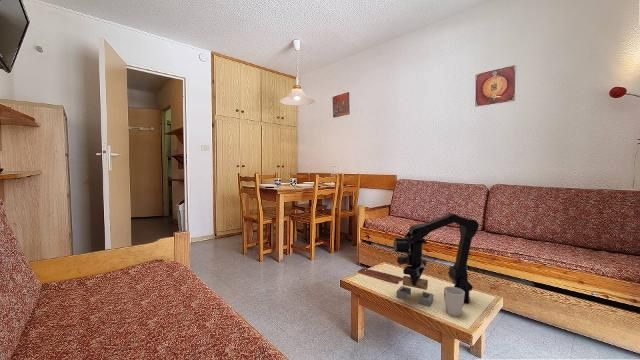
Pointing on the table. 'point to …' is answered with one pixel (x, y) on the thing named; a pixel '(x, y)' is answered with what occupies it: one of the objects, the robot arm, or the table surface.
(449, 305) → the cup
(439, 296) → the table surface
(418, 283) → the slat
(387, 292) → the table surface
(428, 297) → the end cap
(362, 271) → the wooden tablet
